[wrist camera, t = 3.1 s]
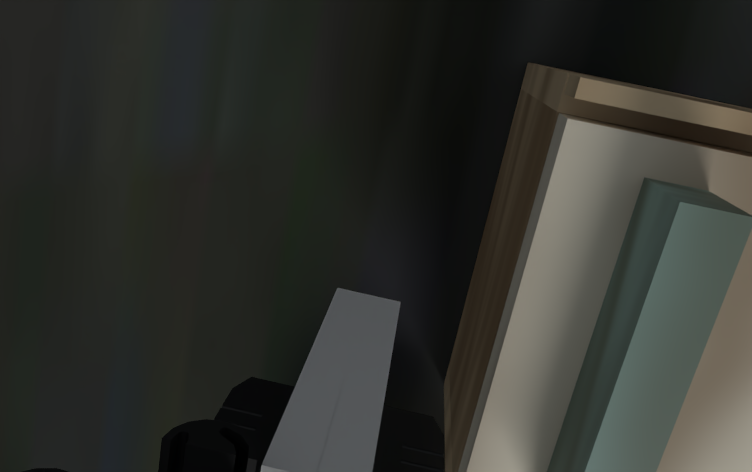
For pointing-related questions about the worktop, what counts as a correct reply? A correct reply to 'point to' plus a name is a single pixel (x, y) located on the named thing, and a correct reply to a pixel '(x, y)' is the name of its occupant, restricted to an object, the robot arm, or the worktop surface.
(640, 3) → the worktop surface
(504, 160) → the box
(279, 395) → the robot arm
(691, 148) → the cover plate
